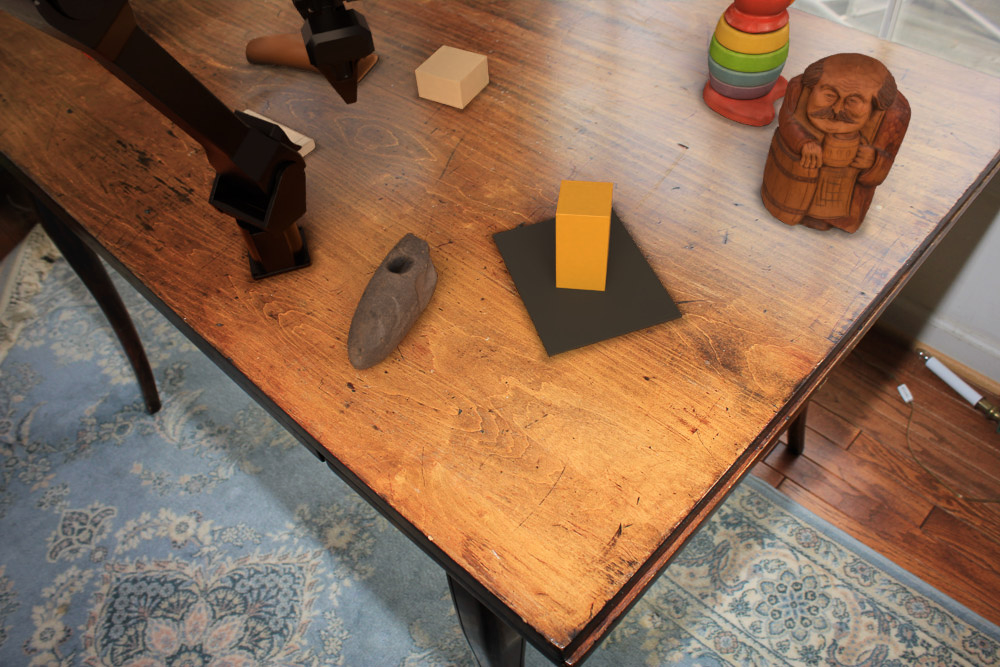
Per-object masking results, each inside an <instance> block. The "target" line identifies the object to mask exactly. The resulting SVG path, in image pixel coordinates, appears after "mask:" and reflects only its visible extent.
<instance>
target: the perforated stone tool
mask: <svg viewBox="0 0 1000 667" xmlns="http://www.w3.org/2000/svg"><path fill="white" fill-rule="evenodd" d="M430 251H431V250H430V245H429V242H428V241H426V239H425V240H424V239H423V238H420V237H419V236H417V235H415V234H414V233H413V232H406V234H405V235H403V237H402V238H400V239H399V241H397V243H395V245H394V246H393V247H392V248H391V249H390V250H389V252H388V253H387V255H385V257H384V259H383V260H382V261H381V262H380V264H379V265H378V266H377V268H376V270H375V271H374V273H373V274H372V277H371V278H370V279H369V281H368V283H367V285H366V286H365V288H364V290H363V293H362V294H361V296H360V299H359V301H358V302H357V306H356V308H355V311H354V313H353V316H352V318H351V321H350V326H349V329H348V335H347V342H346V344H347V345H346V346H347V357H348V360H349V363H350V364H351V366H352V367H353V369H354V370H357V371H364V370H368V369H371V368H373V367H375V366H377V365H379V364H380V363H381V362H383V361H384V360H385V359H387V357H389V356H390V355H391V354H392V353H393V352H394V351H395V350H396V349H397V347H398V346H399V345H400V344H401V343H402V342H403V340H404V339H405V337H406V336H407V335H408V333H409V332H410V331H411V329H412V328H413V326H414V325H415V323H416V322H417V321H418V319H419V318H420V317H421V315H422V312H423V311H424V310H425V309H426V308H427V306H428V304H429V302H430V301H431V299H432V297H433V295H434V293H435V292H436V288H437V285H438V281H439V280H438V272H437V270H436V266H435V265H434V262H433V259H432V257H431V254H430Z"/></svg>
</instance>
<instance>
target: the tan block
mask: <svg viewBox="0 0 1000 667" xmlns="http://www.w3.org/2000/svg"><path fill="white" fill-rule="evenodd" d="M488 63H489V62H488V55H485V54H480V53H477V52H473V51H469V50H464V49H461V48H457V47H453V46H449V45H444V44H443V45H442V46H440V47H439V48H438V49H436V51H435V52H434V53H433V54H431V55H430V56H429V57H428V58H427V59H426V60H424V61H423V62H422V63H421V64H420V65H419V66H418V67H417V68H415V70H414V73H415V79H416V85H417V92H418V97H419V98H422V99H425V100H428V101H432V102H437V103H440V104H443V105H447V106H449V107H454V108H456V109H460V110H463V109H464V108H465V107H466V106H467V105H468V104H469V103H470V102H471V101H472V100H474V98H475V97H477V95H478V94H479V93H481V91H482V90H484V89H485V87H487V85H488V84H490V76H489V64H488Z"/></svg>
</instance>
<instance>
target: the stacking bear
mask: <svg viewBox="0 0 1000 667" xmlns="http://www.w3.org/2000/svg"><path fill="white" fill-rule="evenodd" d="M795 1H796V0H733V2H732V3H731V4H730V5H728V7H727V8H726V9H725V10H724V11H723V12H722V14H721V15H720V17H719V19H718V21H717V22H716V26H715V30H714V31H713V33H712V36H711V39H710V43H709V47H708V52H707V67H708V80H707V82H706V83H705V85H704V88H703V91H702V96H703V97H702V98H703V100H704V102H705V104H706V105H707V106H708V107H709V108H711V109H712V110H713V111H715V112H716V113H718V114H720V115H721V116H723V117H725V118H727V119H728V120H732V121H734V122H738V123H740V124H745V125H748V126H749V125H750V126H754V127H763V126H767V125H769V124H771V123H772V122H773V120H774V119H775V118H776V110H775V109H776V108H775V106H774V103H775V102H776V101H777V100H779V99H781V98H784V96H785V92H786V88H787V85H788V82H789V81H788V80H787V78H786V77H785V76H783V75H781V74H782V72H783V70H784V67H785V65H786V62H787V59H788V56H789V51H790V13H789V11H788V9H787V8H789V7H790V6H792V5H793V4H794V3H795Z"/></svg>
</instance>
